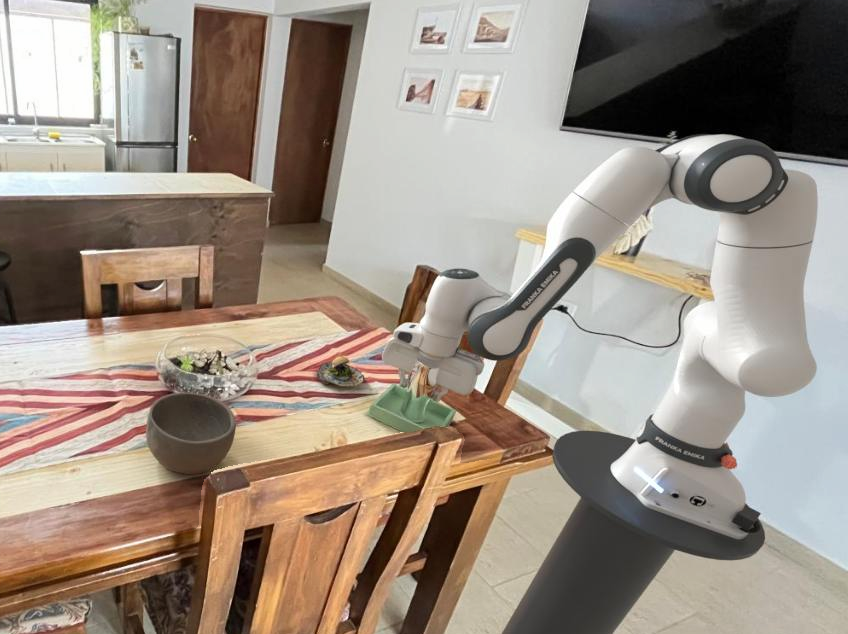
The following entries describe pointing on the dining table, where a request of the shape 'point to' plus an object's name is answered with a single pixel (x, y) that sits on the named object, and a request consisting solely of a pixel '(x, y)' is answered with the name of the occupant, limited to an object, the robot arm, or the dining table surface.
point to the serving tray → (388, 413)
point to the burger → (340, 373)
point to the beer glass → (419, 391)
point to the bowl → (190, 432)
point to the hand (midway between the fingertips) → (419, 393)
